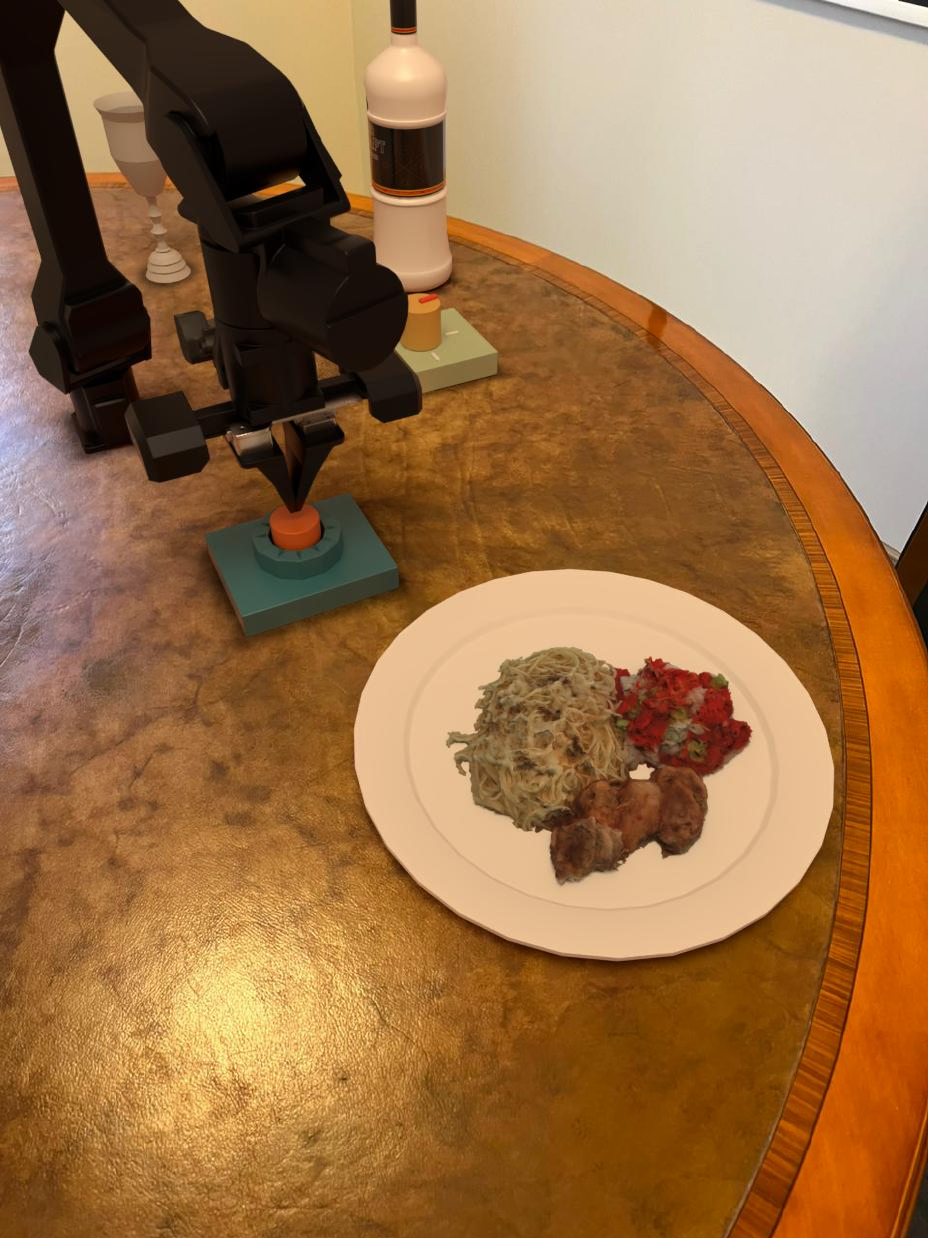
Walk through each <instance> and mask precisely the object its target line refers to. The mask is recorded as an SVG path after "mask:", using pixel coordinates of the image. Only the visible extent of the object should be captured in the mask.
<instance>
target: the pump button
mask: <svg viewBox="0 0 928 1238" xmlns="http://www.w3.org/2000/svg"><path fill="white" fill-rule="evenodd" d="M274 510H275V509H274ZM270 526H271V532H272V537H273V541H274V543H275V544H276V545H277V546H278V547H279V548H281V549H283V550H295V551H300V550H303V549H306V548H309V547H313V546H314V545H316V544H317V543H318V541H319V540H320V538H321V527H320V519H319V514H318V512H317V511H316V509H315V508H313V507H312V506H310V505H308V504H307V503H304V505H303V507H302V510H301V511H299V512H295V513H292V514H291V513H290V512H289V510H288V509H287V507H286V505H285V504H283V505H281V506H279V507H277V508H276V510H275V511H274V512H273V513H272V515H271V517H270Z"/></svg>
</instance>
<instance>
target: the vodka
mask: <svg viewBox="0 0 928 1238" xmlns="http://www.w3.org/2000/svg"><path fill="white" fill-rule="evenodd" d="M417 5H418V4H417V0H389V19H390V35H389V37H390V43H389V45H388V46H387V47H386V48H384V49H383V50H382V51H381V52H380V53H379V54H378V55H377V56H375V58H373V59H372V60H371V61H370V62H369V63H368V65H367V67H365V68H366V69H365V72H364V76H363V80H362V82H363V85H364V90H365V99H366V100H365V101H366V117H367V133H368V134H367V135H368V149H369V165H370V180H371V184H370V188H369V193H370V195H371V203H372V213H373V214H372V215H373V240H372V241H373V242H374V244H375V246H376V262H377V263H379V264H381V265H383V266H385V267H388V268H389V269H390V270H392V271H393V272H394V273H396V275H397V276H398V277H399V279H400V280H401V282H402V285H403V288H404V291H405V293H422V292H426V291H431V290H434V289H436V288H438V287H440V286H441V285H443V284H444V283H446V282H447V281H448V280H449V278H450V276H451V274H452V272H453V254H452V251H451V249H450V243H449V237H448V217H447V216H448V215H447V204H448V203H447V199H448V193H449V187H448V184H447V152H446V151H447V150H446V149H447V148H446V147H447V143H446V142H447V140H446V139H447V138H446V136H447V134H446V132H447V131H446V129H447V128H446V123H447V122H446V121H447V120H446V117H447V115H448V106H447V95H448V77H447V74H446V70H445V68H444V67H443V65H442V63H441V62H440V61H439V60H438V59H437V58H436V57H435V56H433V55H432V54H431V53H429V52H428V51H427V50H426V49H425V48H423V47H422V46H421V45H420V44H419V42H418V41H419V40H418V39H419V38H418V11H417Z"/></svg>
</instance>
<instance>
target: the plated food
mask: <svg viewBox="0 0 928 1238" xmlns="http://www.w3.org/2000/svg"><path fill="white" fill-rule="evenodd" d="M353 736H354V737H353V742H354V743H353V744H354V747H353V748H354V749H353V750H354V770H355V774H356V778H357V781H358V784H359V789H360V793H361V797H362V800H363V803H364V807H365V810H366V812H367V814H368V816H369V818H370V820H371V821H372V823H373V825H374V827H375V829H376V830H377V833H378V835H379V836H380V839H381V840H382V842H383V844H384V845H385V848H386V850H388V852H390V853H391V855H392V856H393V857H394V859H396V861H397V862H398V863H399V864H400V865H401V866H402V868H403V869H404V870H405V871H406V872H407V873H408V874H409V876H410V877H411V878H412V879H413V880H414V881H415V883H416V884H417V885H418V886H419V887H421V888H422V889H423V890H424V891H426V892H427V893H429V894H430V895H431V896H432V897H434V898H435V899H436V900H438V901H439V902H440V903H441V904H443V905H444V906H445V907H447V909H449V910H451V911H452V912H453V913H454V914H456V915H457V916H458V917H460V918H462V919H464V920H466V921H468V922H470V923H473V924H474V925H475V926H478V927H480V928H482V929H484V930H486V931H487V932H490V933H492V934H494V935H496V936H498V937H500V938H502V939H505V940H507V941H509V942H511V943H512V942H513V943H515V944H519V945H522V946H525V947H529V948H533V949H536V950H540V951H543V952H547V953H551V954H554V955H557V956H560V957H567V958H568V957H569V958H570V957H571V958H578V959H579V958H580V959H591V960H602V961H611V962H623V961H634V960H645V959H652V958H653V959H654V958H655V959H656V958H665V957H674V956H677V955H679V954H683V953H686V952H690V951H693V950H696V949H699V948H702V947H707V946H709V945H712V944H716V943H719V942H722V941H724V940H726V939H728V938H730V937H731V936H733V935H734V934H736V933H738V932H740V931H741V930H743V929H744V928H746V927H748V926H750V925H752V924H753V923H755V922H757V921H759V920H760V919H762V918H765V917H766V916H767V915H768V914H769V913H770V912H771V911H772V910H773V909H774V908H775V907H776V906H777V905H778V904H780V903H781V902H782V900H784V899H785V898H786V897H787V896H788V895H789V894H790V893H791V892H792V891H793V890H794V889H795V888H796V887H797V886H798V885H799V884H800V882H801V881H802V879H803V877H804V876H805V874H806V872H807V871H808V869H809V868H810V866H811V864H812V862H813V861H814V859H815V857H816V856H817V854H818V853H819V851H820V849H821V848H822V847H823V843H824V840H825V836H826V832H827V829H828V825H829V822H830V819H831V815H832V812H833V808H834V794H835V793H834V791H835V789H834V788H835V786H834V785H835V765H834V760H833V757H832V756H833V755H832V751H831V746H830V743H829V739H828V738H829V737H828V734H827V729H826V727H825V725H824V723H823V721H822V719H821V716H820V714H819V712H818V709H817V708H816V706H815V704H814V701H813V699H812V697H811V695H810V693H809V692H808V690H807V689H806V688H805V686H804V685H803V683H802V682H801V681H800V679H799V678H798V677H797V676H796V674H795V673H794V671H793V669H791V668H790V666H789V664H788V663H787V662H786V661H785V659H783V658H782V657H781V656H780V655H779V654H778V653H777V652H776V651H775V650H774V649H773V648H772V647H770V645H769V644H768V643H766V642H765V641H764V640H763V639H762V638H761V636H759V635H758V634H757V633H755V632H754V631H753V630H751V629H750V628H749V627H747V626H746V625H744V623H742V622H740V621H738V620H737V619H736V618H734V617H732V616H731V615H730V614H729V613H727V612H726V611H724V610H722V609H720V608H718V607H717V606H715V605H713V604H710V603H708V602H706V601H705V600H703V599H700V598H698V597H696V596H694V595H693V594H691V593H689V592H686V591H683V590H680V589H677V588H674V587H673V586H672V587H671V586H669V585H666V584H663V583H660V582H657V581H654V580H651V579H647V578H642V577H638V576H633V575H628V574H623V573H617V572H613V571H606V570H605V571H604V570H592V569H591V570H587V569H578V568H577V569H575V568H565V569H551V570H534V571H529V572H522V573H518V574H513V575H509V576H503V577H498V578H494V579H492V580H488V581H486V582H483V583H480V584H478V585H475V586H471V587H469V588H467V589H464V590H461V591H458V592H457V593H455V594H453V595H451V596H450V597H448V598H446V599H444V600H443V601H441V602H439V603H437V604H435V605H434V606H432V607H429V608H428V609H427V610H426V611H425V612H423V613H422V614H421V615H420V616H419V617H417V618H416V619H415V620H413V622H411V623H410V624H409V625H408V626H406V627H405V628H404V629H403V630H402V631H401V632H399V633H398V635H397V636H396V637H395V638H394V640H393V641H391V643H390V645H389V646H388V647H387V648H386V650H385V651H384V652H383V653H382V655H381V656H380V657H379V658H378V660H377V661H376V663H375V665H374V667H373V669H372V671H371V673H370V676H369V677H368V679H367V682H366V683H365V686H364V687H363V690H362V692H361V695H360V699H359V704H358V710H357V713H356V718H355V721H354V727H353Z"/></svg>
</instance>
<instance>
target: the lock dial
mask: <svg viewBox="0 0 928 1238" xmlns="http://www.w3.org/2000/svg"><path fill="white" fill-rule="evenodd" d="M407 295H408V294H407ZM408 302H409V308H408V318H407V322H406V326H405V330H404V332H403V334H402V337H401V339H400V340H401V344H402V345H403V346H404V347H405V348H407V349H409V350H413V351H428V350H432V349H434V348H436V347H438V346H439V345H440V343H441V310H442V309H441V308H442V304H441V300H440V299H439V295H438V294H437V293H432V294H429V293H412V294H409V295H408Z"/></svg>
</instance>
